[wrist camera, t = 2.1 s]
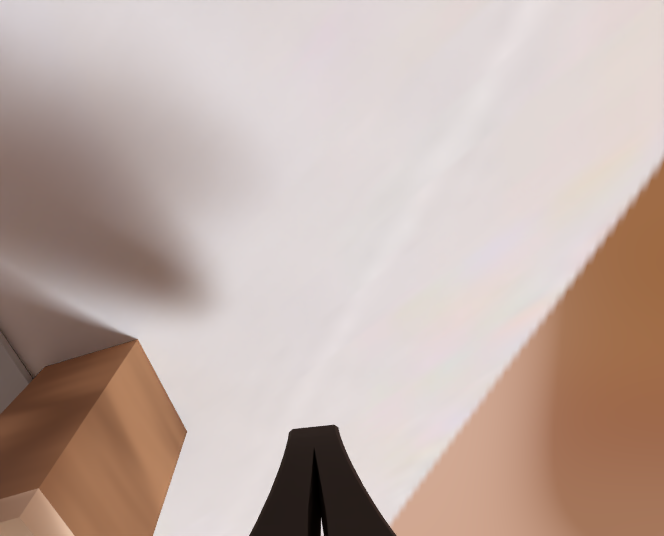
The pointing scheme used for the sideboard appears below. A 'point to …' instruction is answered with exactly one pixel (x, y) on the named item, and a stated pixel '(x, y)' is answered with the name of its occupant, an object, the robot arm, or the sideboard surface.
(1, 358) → the slate rubber mat
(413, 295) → the sideboard surface
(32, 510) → the walnut block
